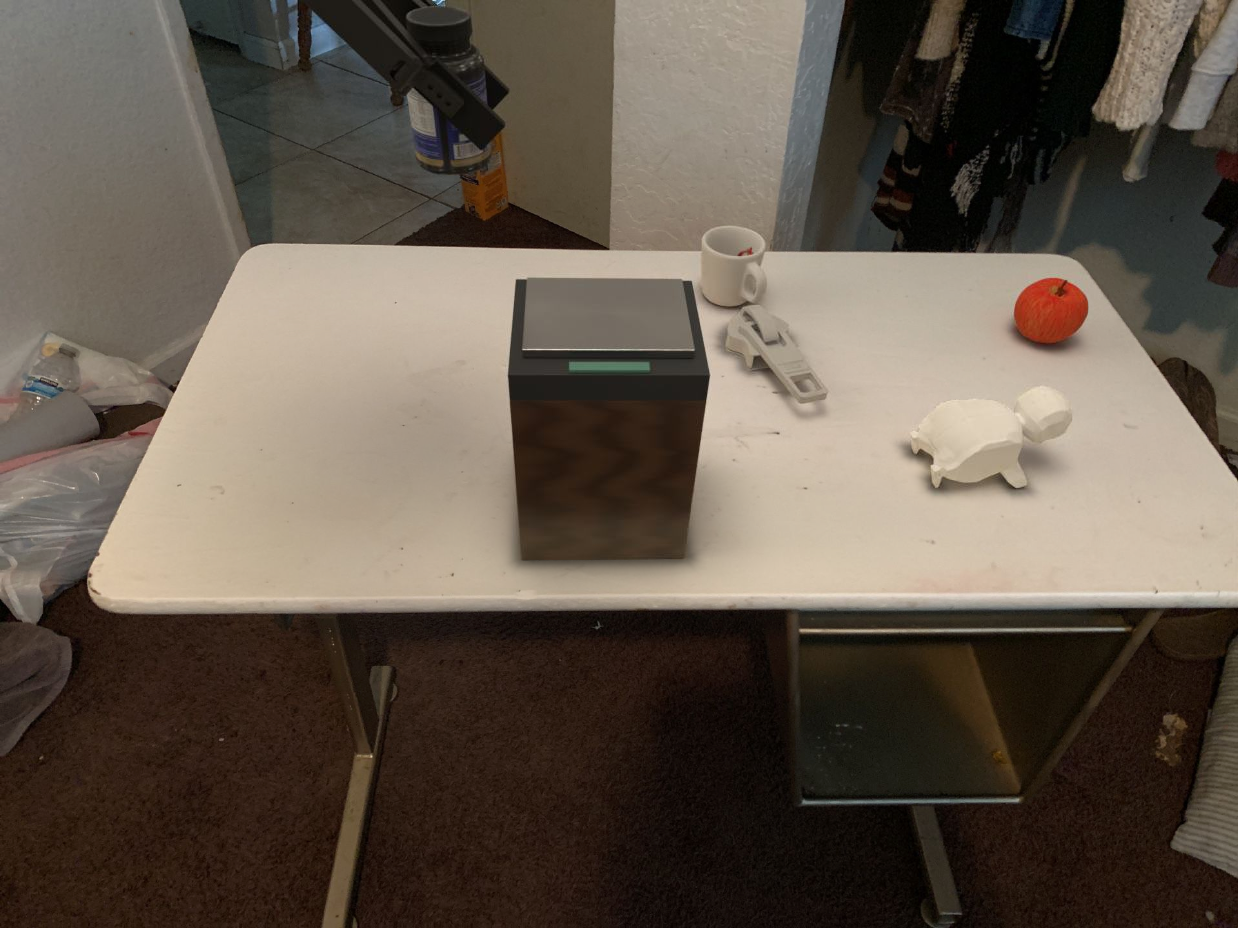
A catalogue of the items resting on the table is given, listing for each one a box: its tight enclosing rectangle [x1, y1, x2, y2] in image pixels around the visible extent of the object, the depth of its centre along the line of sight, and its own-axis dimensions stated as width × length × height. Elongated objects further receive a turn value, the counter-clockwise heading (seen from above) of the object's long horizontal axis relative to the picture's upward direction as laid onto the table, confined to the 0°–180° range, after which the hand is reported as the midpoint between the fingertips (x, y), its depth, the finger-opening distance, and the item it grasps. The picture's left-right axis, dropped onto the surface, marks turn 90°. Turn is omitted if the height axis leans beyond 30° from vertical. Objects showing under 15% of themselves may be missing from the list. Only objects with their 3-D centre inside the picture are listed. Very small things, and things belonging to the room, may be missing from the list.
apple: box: [1013, 277, 1089, 344], centre depth 102 cm, size 8×8×8 cm
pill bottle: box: [406, 5, 492, 176], centre depth 64 cm, size 6×6×11 cm
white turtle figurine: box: [909, 385, 1073, 489], centre depth 85 cm, size 9×8×15 cm
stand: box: [509, 400, 707, 561], centre depth 75 cm, size 15×13×19 cm
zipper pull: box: [724, 303, 829, 405], centre depth 97 cm, size 8×18×4 cm, turn 18°
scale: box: [507, 277, 711, 402], centre depth 67 cm, size 15×13×3 cm
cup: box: [700, 225, 768, 307], centre depth 105 cm, size 11×8×8 cm
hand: (495, 118), depth 66 cm, fingers closed on pill bottle, 6 cm apart
